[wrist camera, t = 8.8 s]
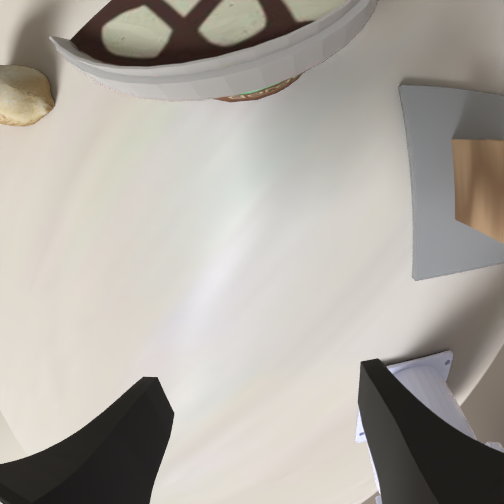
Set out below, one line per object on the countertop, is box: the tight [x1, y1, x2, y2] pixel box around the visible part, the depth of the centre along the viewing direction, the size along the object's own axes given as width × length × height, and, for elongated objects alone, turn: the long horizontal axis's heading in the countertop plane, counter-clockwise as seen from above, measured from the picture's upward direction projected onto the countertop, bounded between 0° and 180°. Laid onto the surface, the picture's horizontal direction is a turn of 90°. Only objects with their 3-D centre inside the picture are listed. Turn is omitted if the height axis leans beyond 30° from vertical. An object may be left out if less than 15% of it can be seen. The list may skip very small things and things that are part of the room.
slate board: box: [399, 85, 504, 281], centre depth 15 cm, size 12×11×1 cm
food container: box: [49, 0, 378, 102], centre depth 10 cm, size 12×6×10 cm, turn 128°
